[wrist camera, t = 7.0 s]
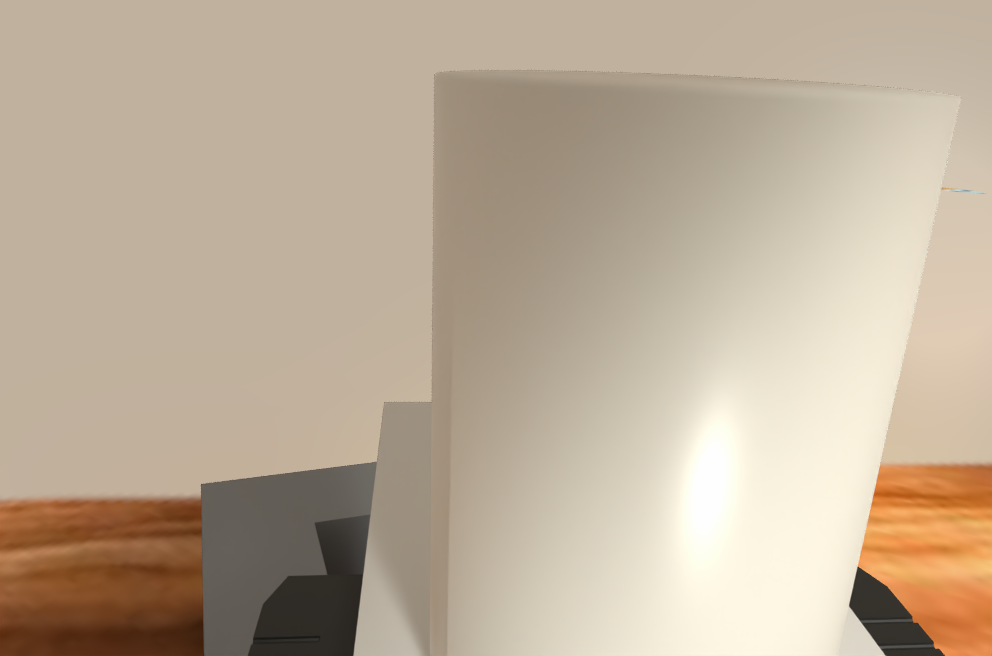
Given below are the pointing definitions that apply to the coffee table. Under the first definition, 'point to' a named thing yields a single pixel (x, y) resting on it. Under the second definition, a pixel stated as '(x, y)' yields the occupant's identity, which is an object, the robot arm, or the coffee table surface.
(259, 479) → the hole block
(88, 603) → the coffee table surface
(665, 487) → the tall pin
